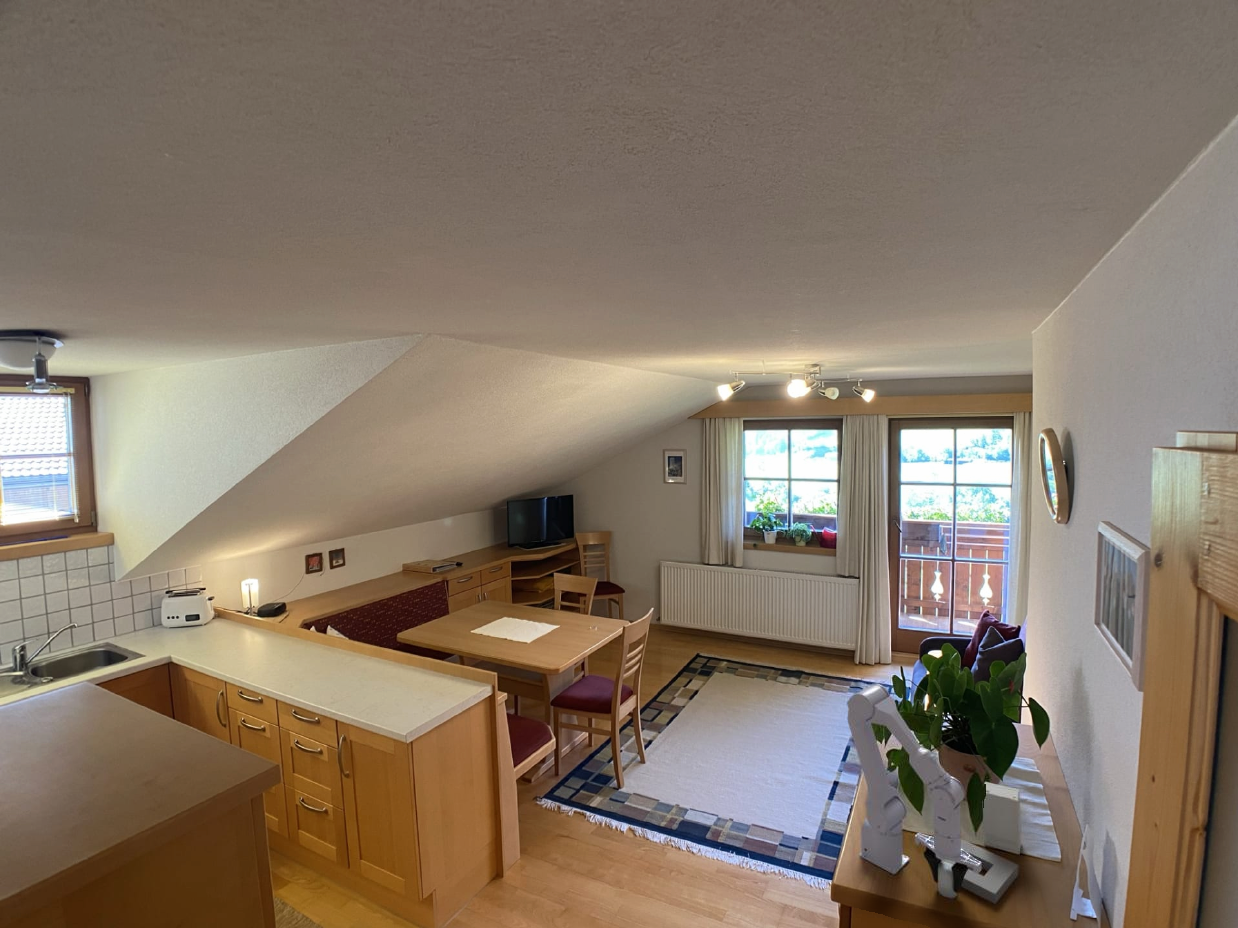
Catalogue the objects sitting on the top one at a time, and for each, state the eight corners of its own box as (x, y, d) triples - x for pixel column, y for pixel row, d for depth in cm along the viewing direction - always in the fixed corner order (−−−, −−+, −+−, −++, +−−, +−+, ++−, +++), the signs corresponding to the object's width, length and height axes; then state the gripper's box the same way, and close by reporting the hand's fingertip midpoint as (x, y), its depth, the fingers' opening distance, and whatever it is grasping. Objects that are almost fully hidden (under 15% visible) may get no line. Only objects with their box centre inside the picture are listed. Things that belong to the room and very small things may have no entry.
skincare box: (1021, 843, 170) (1021, 788, 169) (1019, 856, 165) (1019, 800, 164) (984, 832, 175) (984, 779, 174) (981, 844, 170) (982, 790, 169)
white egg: (935, 891, 155) (934, 867, 154) (942, 882, 157) (942, 859, 157) (952, 900, 152) (952, 876, 151) (959, 891, 154) (959, 867, 154)
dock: (933, 872, 161) (933, 862, 161) (958, 846, 170) (958, 837, 169) (995, 903, 150) (995, 893, 150) (1018, 874, 159) (1018, 864, 159)
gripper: (908, 823, 156) (909, 877, 157) (972, 853, 145) (972, 910, 146) (922, 811, 161) (923, 863, 162) (985, 839, 149) (985, 895, 151)
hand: (947, 884), depth 154 cm, fingers closed on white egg, 4 cm apart
